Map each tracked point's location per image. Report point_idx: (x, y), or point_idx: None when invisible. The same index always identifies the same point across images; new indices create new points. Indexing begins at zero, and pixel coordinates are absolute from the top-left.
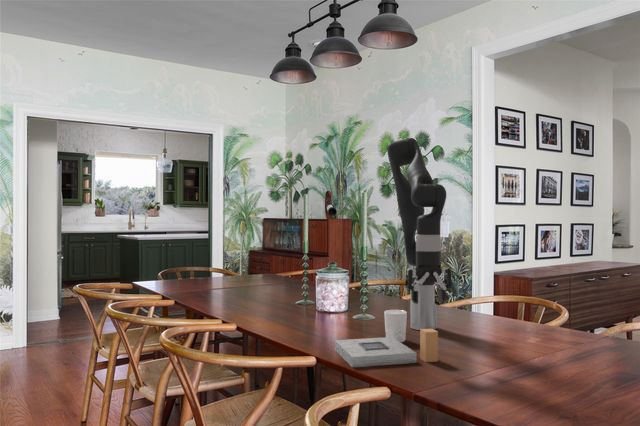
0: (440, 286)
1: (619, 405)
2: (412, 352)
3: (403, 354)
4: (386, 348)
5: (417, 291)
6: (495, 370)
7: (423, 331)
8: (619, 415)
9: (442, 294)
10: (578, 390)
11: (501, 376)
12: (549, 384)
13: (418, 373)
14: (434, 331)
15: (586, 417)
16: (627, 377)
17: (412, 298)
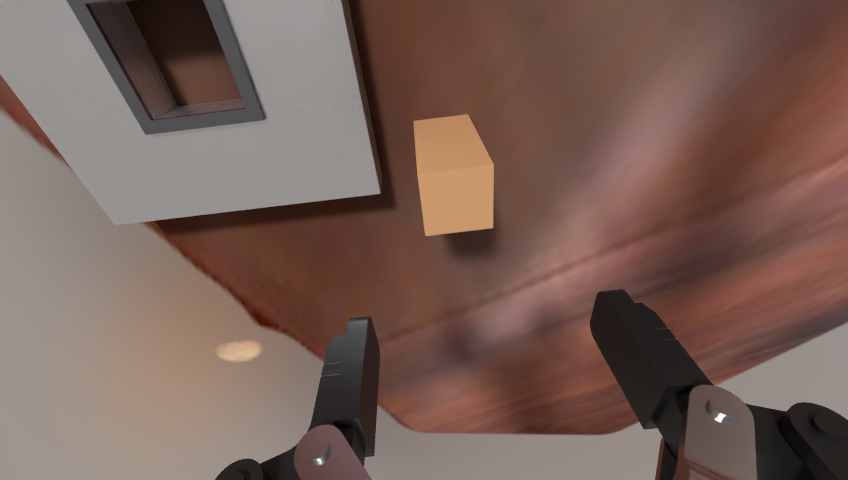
0: (658, 475)
1: None
2: (365, 189)
3: (325, 198)
4: (250, 120)
5: (368, 456)
6: (592, 262)
7: (422, 212)
8: (608, 426)
9: (628, 389)
10: None
11: (571, 300)
12: None
13: (363, 269)
14: (476, 225)
15: (558, 429)
16: (836, 320)
17: (334, 363)
